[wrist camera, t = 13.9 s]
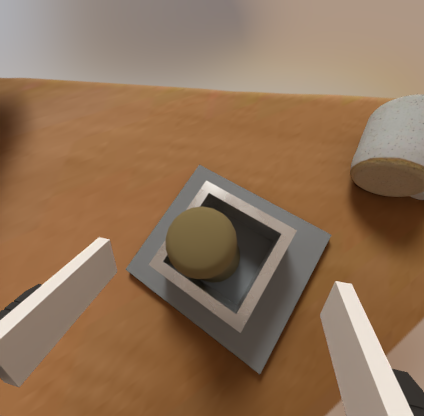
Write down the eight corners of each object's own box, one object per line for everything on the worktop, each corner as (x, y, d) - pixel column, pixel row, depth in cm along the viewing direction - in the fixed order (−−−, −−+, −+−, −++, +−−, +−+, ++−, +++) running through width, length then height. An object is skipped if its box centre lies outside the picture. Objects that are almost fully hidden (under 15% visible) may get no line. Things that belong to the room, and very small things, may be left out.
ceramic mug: (334, 183, 26) (374, 149, 18) (355, 132, 28) (398, 82, 20) (429, 220, 23) (518, 197, 16) (445, 160, 25) (532, 115, 18)
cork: (194, 289, 23) (160, 298, 13) (183, 236, 25) (146, 208, 15) (247, 274, 23) (256, 271, 12) (231, 223, 25) (229, 184, 15)
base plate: (129, 269, 26) (125, 269, 25) (200, 168, 29) (199, 164, 28) (259, 369, 21) (259, 374, 20) (327, 236, 24) (331, 235, 23)
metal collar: (166, 266, 24) (148, 264, 20) (212, 197, 26) (206, 180, 21) (240, 320, 22) (240, 333, 17) (285, 238, 24) (297, 230, 19)
